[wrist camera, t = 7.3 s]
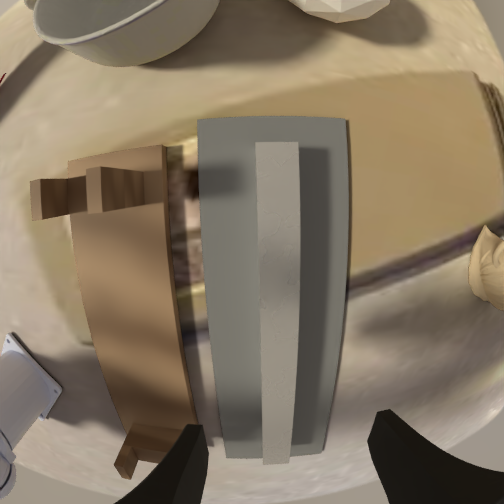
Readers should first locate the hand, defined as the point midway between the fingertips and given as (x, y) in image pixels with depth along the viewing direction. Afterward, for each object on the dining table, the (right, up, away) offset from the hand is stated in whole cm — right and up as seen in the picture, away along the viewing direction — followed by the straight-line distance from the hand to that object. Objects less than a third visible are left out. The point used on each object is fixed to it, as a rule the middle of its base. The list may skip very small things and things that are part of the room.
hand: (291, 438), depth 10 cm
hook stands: (-10, +2, +9) cm, 14 cm away
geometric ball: (+3, +26, +4) cm, 26 cm away
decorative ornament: (+18, +7, +8) cm, 21 cm away
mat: (0, +2, +9) cm, 9 cm away
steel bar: (0, +2, +9) cm, 9 cm away
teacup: (-10, +25, +5) cm, 27 cm away
